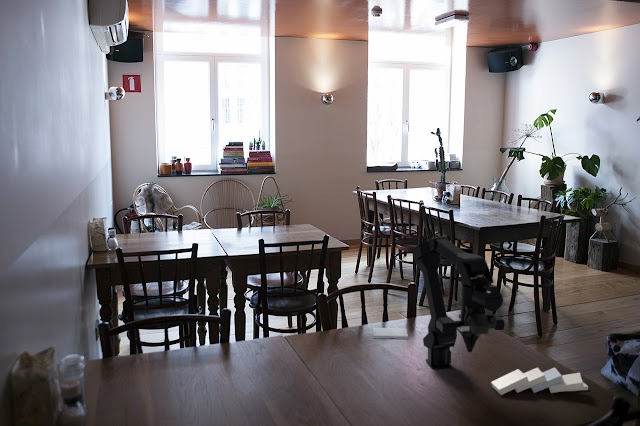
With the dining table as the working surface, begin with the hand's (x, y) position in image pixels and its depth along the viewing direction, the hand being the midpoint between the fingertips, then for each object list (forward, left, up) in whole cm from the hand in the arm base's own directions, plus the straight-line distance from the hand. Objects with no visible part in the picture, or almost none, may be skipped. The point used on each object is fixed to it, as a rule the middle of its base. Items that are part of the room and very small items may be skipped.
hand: (469, 351), depth 162 cm
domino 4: (+22, -6, -10) cm, 25 cm away
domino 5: (+24, -5, -11) cm, 27 cm away
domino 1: (+7, -4, -10) cm, 13 cm away
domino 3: (+17, -4, -10) cm, 20 cm away
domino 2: (+12, -3, -10) cm, 16 cm away
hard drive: (-12, +44, -12) cm, 47 cm away
